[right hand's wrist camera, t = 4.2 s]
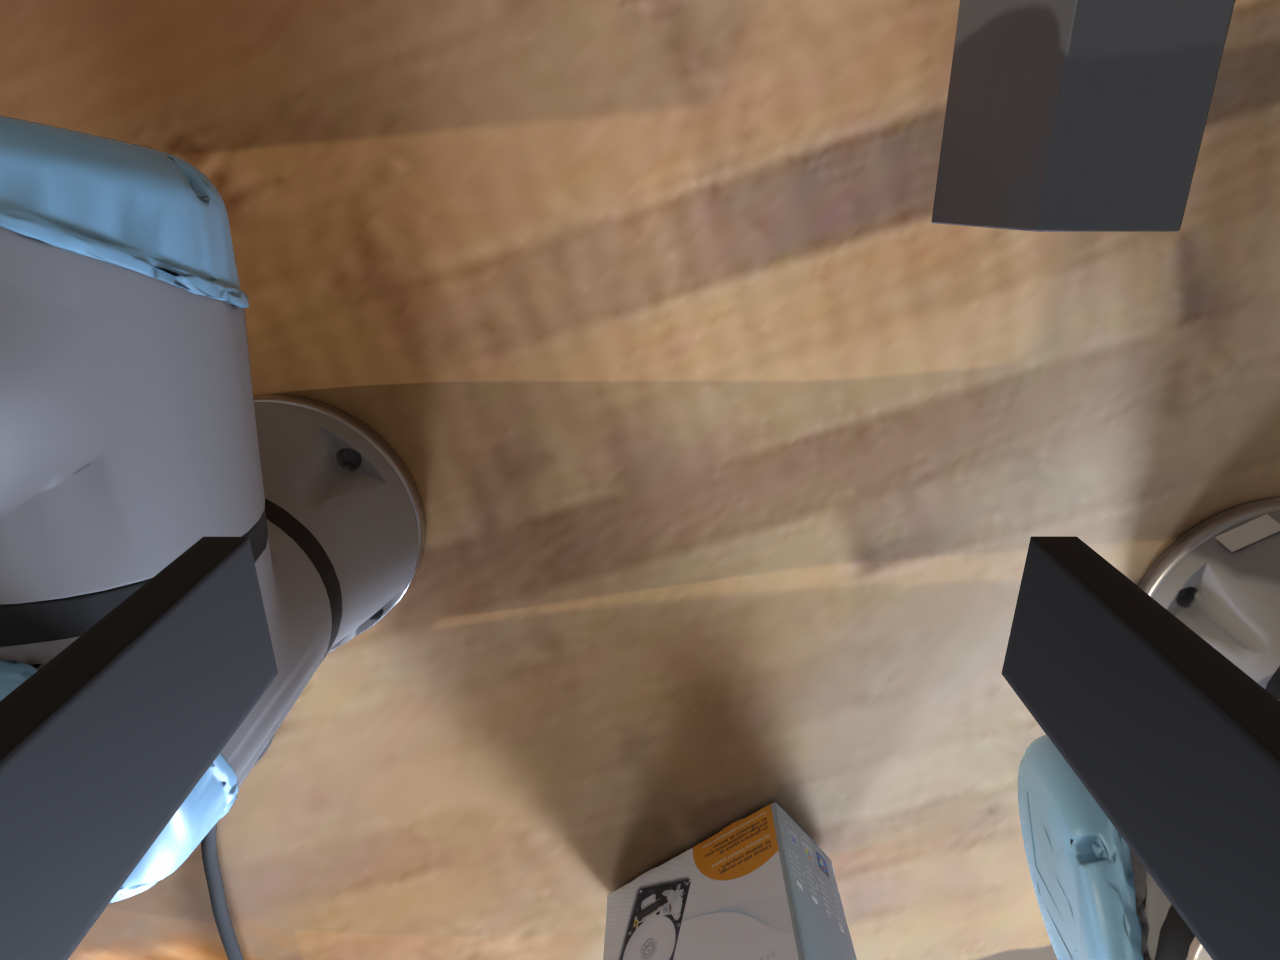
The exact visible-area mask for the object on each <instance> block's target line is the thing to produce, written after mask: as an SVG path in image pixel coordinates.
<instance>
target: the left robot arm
mask: <svg viewBox="0 0 1280 960" xmlns="http://www.w3.org/2000/svg"><path fill="white" fill-rule="evenodd" d="M1138 587H1139V588H1141V589H1142V590H1143V591H1144V592H1146V593H1147V594H1148V595H1149V596H1150V597H1152V598H1153V599H1154V600H1155V601H1157V602H1158V603H1159V604H1160V605H1162V606H1163V607H1164V608H1165V609H1167V610H1168V611H1169V612H1170V613H1171V614H1173V615H1174V616H1175V617H1176V618H1178V619H1179V620H1180V621H1181V622H1183V623H1184V624H1185V625H1186V626H1188V627H1189V628H1190V629H1191V630H1192V631H1194V632H1195V633H1196V634H1197V635H1199V636H1200V637H1201V638H1202V639H1204V640H1205V641H1206V642H1207V643H1209V644H1210V645H1211V646H1212V647H1213V648H1215V649H1216V650H1217V651H1218V652H1220V653H1221V654H1222V655H1223V656H1225V657H1226V658H1227V659H1228V660H1230V661H1231V662H1232V663H1233V664H1234V665H1236V666H1237V667H1238V668H1239V669H1241V670H1242V671H1243V672H1244V673H1246V674H1247V675H1248V676H1249V677H1251V678H1252V679H1253V680H1254V681H1255V682H1257V683H1258V684H1259V685H1260V686H1262V687H1263V688H1264V689H1265V690H1267V691H1268V692H1269V693H1270V694H1272V695H1273V696H1274V697H1275V698H1276V699H1278V700H1280V498H1271V499H1264V500H1258V501H1254V502H1250V503H1246V504H1243V505H1240V506H1236V507H1233V508H1231V509H1228V510H1226V511H1223V512H1221V513H1219V514H1217V515H1215V516H1213V517H1211V518H1209V519H1207V520H1205V521H1203V522H1202V523H1200V524H1198V525H1196V526H1195V527H1193V528H1192V529H1190V530H1189V531H1188V532H1186V533H1185V534H1183V535H1182V536H1181V537H1180V538H1178V539H1177V540H1176V541H1175V542H1173V543H1172V544H1171V545H1170V546H1169V547H1168V548H1167V549H1166V550H1165V551H1164V552H1163V553H1162V554H1161V555H1160V556H1159V557H1158V558H1157V559H1156V560H1155V562H1154V563H1153V564H1152V565H1151V567H1150V568H1149V569H1148V570H1147V572H1146V573H1145V575H1144V576H1143V578H1142V580H1141V581H1140V583H1139V585H1138ZM1018 804H1019V814H1020V822H1021V829H1022V835H1023V841H1024V846H1025V851H1026V856H1027V861H1028V865H1029V869H1030V874H1031V878H1032V882H1033V885H1034V889H1035V893H1036V897H1037V900H1038V904H1039V907H1040V910H1041V914H1042V917H1043V920H1044V923H1045V926H1046V929H1047V932H1048V935H1049V938H1050V941H1051V943H1052V946H1053V949H1054V952H1055V954H1056V956H1057V959H1058V960H1212V958H1211V957H1210V956H1209V954H1208V953H1207V951H1206V950H1205V949H1204V947H1203V946H1202V945H1201V943H1200V942H1199V941H1198V939H1197V938H1196V937H1195V935H1194V934H1193V932H1192V931H1191V930H1190V928H1189V927H1188V926H1187V924H1186V923H1185V922H1184V920H1183V919H1182V918H1181V916H1180V915H1179V913H1178V912H1177V911H1176V909H1175V908H1174V907H1173V905H1172V904H1171V903H1170V901H1169V900H1168V899H1167V897H1166V896H1165V895H1164V893H1163V892H1162V890H1161V889H1160V888H1159V886H1158V885H1157V884H1156V882H1155V881H1154V880H1153V878H1152V877H1151V876H1150V874H1149V873H1148V871H1147V870H1146V869H1145V867H1144V866H1143V865H1142V863H1141V862H1140V861H1139V859H1138V858H1137V857H1136V855H1135V854H1134V852H1133V851H1132V850H1131V848H1130V847H1129V846H1128V844H1127V843H1126V842H1125V840H1124V839H1123V838H1122V836H1121V835H1120V833H1119V832H1118V831H1117V829H1116V828H1115V827H1114V825H1113V824H1112V823H1111V821H1110V820H1109V819H1108V817H1107V816H1106V814H1105V813H1104V812H1103V810H1102V809H1101V808H1100V806H1099V805H1098V804H1097V802H1096V801H1095V800H1094V798H1093V797H1092V796H1091V794H1090V793H1089V791H1088V790H1087V789H1086V787H1085V786H1084V785H1083V783H1082V782H1081V781H1080V779H1079V778H1078V777H1077V775H1076V774H1075V772H1074V771H1073V770H1072V768H1071V767H1070V766H1069V764H1068V763H1067V762H1066V760H1065V759H1064V758H1063V756H1062V755H1061V753H1060V752H1059V751H1058V749H1057V748H1056V747H1055V745H1054V744H1053V743H1052V741H1051V740H1050V739H1049V737H1048V736H1047V735H1044V736H1041V737H1039V738H1037V739H1036V740H1034V741H1033V742H1032V743H1031V744H1030V745H1029V747H1028V748H1027V749H1026V752H1025V755H1024V756H1023V759H1022V760H1021V763H1020V767H1019V774H1018Z"/></svg>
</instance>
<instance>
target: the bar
mask: <svg viewBox="0 0 1280 960" xmlns="http://www.w3.org/2000/svg"><path fill="white" fill-rule="evenodd" d="M1234 3H1235V0H960V7H959V15H958V22H957V30H956V38H955V46H954V53H953V61H952V69H951V76H950V84H949V92H948V100H947V107H946V115H945V123H944V131H943V138H942V146H941V154H940V161H939V169H938V177H937V185H936V192H935V200H934V208H933V215H932V223H938V224H951V225H963V226H976V227H988V228H1001V229H1013V230H1026V231H1179V230H1180V228H1181V223H1182V219H1183V215H1184V211H1185V207H1186V203H1187V199H1188V194H1189V190H1190V186H1191V182H1192V178H1193V174H1194V169H1195V165H1196V161H1197V157H1198V153H1199V149H1200V145H1201V140H1202V136H1203V132H1204V128H1205V124H1206V120H1207V115H1208V111H1209V107H1210V103H1211V99H1212V95H1213V91H1214V86H1215V82H1216V78H1217V74H1218V70H1219V66H1220V61H1221V57H1222V53H1223V49H1224V45H1225V41H1226V37H1227V32H1228V28H1229V24H1230V20H1231V16H1232V12H1233V7H1234Z"/></svg>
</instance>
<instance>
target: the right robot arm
mask: <svg viewBox="0 0 1280 960" xmlns="http://www.w3.org/2000/svg"><path fill="white" fill-rule="evenodd" d="M244 308H249V304H248V298H247V295H246V294H245V293H244V292H243V291H242V290H241V288H240V282H239V277H238V272H237V267H236V262H235V257H234V251H233V245H232V239H231V232H230V226H229V220H228V215H227V211H226V207H225V204H224V202H223V200H222V197H221V196H220V194H219V192H218V191H217V189H216V187H215V186H214V185H213V184H212V183H211V181H210V180H209V179H208V178H207V177H206V176H205V175H204V174H203V173H202V172H200V171H199V170H198V169H197V168H195V167H194V166H193V165H191V164H190V163H188V162H186V161H184V160H182V159H180V158H178V157H176V156H173V155H171V154H168V153H165V152H161V151H158V150H154V149H150V148H146V147H142V146H139V145H134V144H130V143H126V142H121V141H117V140H113V139H109V138H104V137H100V136H95V135H90V134H86V133H81V132H77V131H72V130H67V129H63V128H58V127H53V126H48V125H44V124H39V123H34V122H29V121H24V120H19V119H15V118H10V117H5V116H0V960H68V958H69V957H70V956H71V954H72V953H73V951H74V950H75V949H76V947H77V946H78V945H79V943H80V942H81V941H82V939H83V938H84V937H85V935H86V934H87V932H88V931H89V930H90V928H91V927H92V926H93V924H94V923H95V922H96V920H97V919H98V918H99V916H100V915H101V913H102V912H103V911H104V909H105V908H106V907H107V905H108V904H109V903H112V902H116V901H120V900H123V899H126V898H128V897H131V896H134V895H136V894H138V893H141V892H143V891H145V890H147V889H149V888H150V887H152V886H153V885H155V884H156V883H157V882H158V881H159V880H162V879H164V878H165V877H166V876H168V875H170V874H171V873H173V872H174V871H175V870H176V869H177V868H178V867H179V866H180V865H181V864H182V863H183V862H184V861H185V860H186V859H187V858H188V857H189V855H190V854H191V853H192V852H193V851H194V849H195V848H196V847H197V846H198V845H199V843H200V842H201V848H202V858H203V864H204V870H205V875H206V880H207V884H208V889H209V894H210V900H211V905H212V909H213V914H214V917H215V921H216V925H217V928H218V931H219V934H220V937H221V940H222V943H223V946H224V949H225V952H226V955H227V958H228V960H243V957H242V954H241V951H240V947H239V944H238V941H237V939H236V936H235V932H234V929H233V926H232V923H231V920H230V916H229V912H228V908H227V904H226V900H225V894H224V889H223V883H222V878H221V873H220V868H219V863H218V857H217V849H216V827H217V822H218V820H219V819H221V818H222V817H223V816H224V815H225V814H226V813H227V812H228V811H229V810H230V808H231V807H232V805H233V803H234V801H235V800H236V799H237V796H236V794H237V793H238V792H239V787H240V786H241V784H242V783H243V781H244V780H245V778H246V777H247V775H248V773H249V772H250V770H251V769H252V767H253V766H254V765H255V764H256V763H257V762H258V761H259V760H260V758H261V757H262V756H263V754H264V753H265V752H266V750H267V749H268V747H269V745H270V744H271V741H272V739H273V737H274V734H275V732H276V731H277V729H278V728H279V726H280V725H281V723H282V722H283V720H284V718H285V717H286V715H287V714H288V712H289V711H290V709H291V708H292V706H293V705H294V703H295V702H296V700H297V699H298V697H299V696H300V694H301V692H302V691H303V689H304V688H305V686H306V685H307V683H308V682H309V680H310V679H311V677H312V676H313V674H314V673H315V671H316V670H317V668H318V667H319V665H320V664H321V662H322V661H323V659H324V658H325V656H326V655H327V653H329V652H331V651H332V650H334V649H336V648H338V647H339V646H341V645H343V644H344V643H346V642H348V641H349V640H351V639H352V638H353V637H355V636H357V635H359V634H361V633H362V632H364V631H366V630H367V629H369V628H370V627H372V626H373V625H375V624H376V623H377V622H379V621H380V620H381V619H382V618H383V617H384V616H385V615H386V614H387V613H388V612H389V611H390V610H391V609H392V608H393V607H394V606H395V605H396V604H397V603H398V602H399V600H400V599H401V598H402V596H403V595H404V593H405V592H406V590H407V589H408V587H409V585H410V583H411V582H412V580H413V578H414V576H415V574H416V572H417V570H418V568H419V565H420V563H421V559H422V555H423V551H424V545H425V531H426V530H425V517H424V512H423V507H422V503H421V499H420V496H419V493H418V491H417V488H416V486H415V483H414V482H413V480H412V478H411V476H410V474H409V472H408V470H407V469H406V467H405V466H404V464H403V462H402V461H401V460H400V459H399V457H398V456H397V455H396V453H395V452H394V451H393V450H392V449H391V448H390V447H389V445H388V444H387V443H386V442H385V441H384V440H383V439H381V438H380V437H379V436H378V435H377V434H376V433H375V432H374V431H372V430H371V429H370V428H368V427H367V426H366V425H365V424H363V423H361V422H360V421H358V420H357V419H355V418H354V417H352V416H350V415H348V414H346V413H344V412H343V411H341V410H338V409H336V408H334V407H331V406H329V405H327V404H324V403H321V402H317V401H314V400H310V399H306V398H302V397H295V396H288V395H258V396H253V390H252V380H251V370H250V360H249V351H248V341H247V331H246V321H245V311H244ZM1002 675H1003V676H1004V678H1005V679H1006V680H1007V682H1008V683H1009V684H1010V686H1011V687H1012V688H1013V690H1014V691H1015V692H1016V694H1017V695H1018V697H1019V698H1020V699H1021V701H1022V702H1023V703H1024V705H1025V706H1026V707H1027V709H1028V710H1029V711H1030V713H1031V714H1032V715H1033V717H1034V718H1035V720H1036V721H1037V722H1038V724H1039V725H1040V726H1041V728H1042V729H1043V730H1044V732H1045V733H1046V734H1047V736H1048V737H1049V739H1050V740H1051V741H1052V743H1053V744H1054V745H1055V747H1056V748H1057V749H1058V751H1059V752H1060V753H1061V755H1062V756H1063V758H1064V759H1065V760H1066V762H1067V763H1068V764H1069V766H1070V767H1071V768H1072V770H1073V771H1074V772H1075V774H1076V775H1077V777H1078V778H1079V779H1080V781H1081V782H1082V783H1083V785H1084V786H1085V787H1086V789H1087V790H1088V791H1089V793H1090V794H1091V796H1092V797H1093V798H1094V800H1095V801H1096V802H1097V804H1098V805H1099V806H1100V808H1101V809H1102V810H1103V812H1104V813H1105V814H1106V816H1107V817H1108V819H1109V820H1110V821H1111V823H1112V824H1113V825H1114V827H1115V828H1116V829H1117V831H1118V832H1119V833H1120V835H1121V836H1122V838H1123V839H1124V840H1125V842H1126V843H1127V844H1128V846H1129V847H1130V848H1131V850H1132V851H1133V852H1134V854H1135V855H1136V857H1137V858H1138V859H1139V861H1140V862H1141V863H1142V865H1143V866H1144V867H1145V869H1146V870H1147V871H1148V873H1149V874H1150V876H1151V877H1152V878H1153V880H1154V881H1155V882H1156V884H1157V885H1158V886H1159V888H1160V889H1161V890H1162V892H1163V893H1164V895H1165V896H1166V897H1167V899H1168V900H1169V901H1170V903H1171V904H1172V905H1173V907H1174V908H1175V909H1176V911H1177V912H1178V913H1179V915H1180V916H1181V918H1182V919H1183V920H1184V922H1185V923H1186V924H1187V926H1188V927H1189V928H1190V930H1191V931H1192V932H1193V934H1194V935H1195V937H1196V938H1197V939H1198V941H1199V942H1200V943H1201V945H1202V946H1203V947H1204V949H1205V950H1206V951H1207V953H1208V954H1209V956H1210V957H1211V958H1212V960H1280V700H1278V699H1276V698H1275V697H1274V696H1273V695H1272V694H1270V693H1269V692H1268V691H1267V690H1265V689H1264V688H1263V687H1262V686H1260V685H1259V684H1258V683H1257V682H1255V681H1254V680H1253V679H1252V678H1251V677H1249V676H1248V675H1247V674H1246V673H1244V672H1243V671H1242V670H1241V669H1239V668H1238V667H1237V666H1236V665H1234V664H1233V663H1232V662H1231V661H1230V660H1228V659H1227V658H1226V657H1225V656H1223V655H1222V654H1221V653H1220V652H1218V651H1217V650H1216V649H1215V648H1213V647H1212V646H1211V645H1210V644H1209V643H1207V642H1206V641H1205V640H1204V639H1202V638H1201V637H1200V636H1199V635H1197V634H1196V633H1195V632H1194V631H1192V630H1191V629H1190V628H1189V627H1188V626H1186V625H1185V624H1184V623H1183V622H1181V621H1180V620H1179V619H1178V618H1176V617H1175V616H1174V615H1173V614H1171V613H1170V612H1169V611H1168V610H1167V609H1165V608H1164V607H1163V606H1162V605H1160V604H1159V603H1158V602H1157V601H1155V600H1154V599H1153V598H1152V597H1150V596H1149V595H1148V594H1147V593H1146V592H1144V591H1143V590H1142V589H1141V588H1139V587H1138V586H1137V585H1136V584H1134V583H1133V582H1132V581H1131V580H1129V579H1128V578H1127V577H1126V576H1125V575H1123V574H1122V573H1121V572H1120V571H1118V570H1117V569H1116V568H1115V567H1113V566H1112V565H1111V564H1110V563H1108V562H1107V561H1106V560H1105V559H1104V558H1102V557H1101V556H1100V555H1099V554H1097V553H1096V552H1095V551H1094V550H1092V549H1091V548H1090V547H1089V546H1088V545H1086V544H1085V543H1084V542H1083V541H1081V540H1080V539H1079V538H1078V537H1031V539H1030V544H1029V549H1028V553H1027V558H1026V563H1025V567H1024V572H1023V577H1022V581H1021V586H1020V591H1019V595H1018V600H1017V605H1016V609H1015V614H1014V619H1013V623H1012V628H1011V633H1010V637H1009V642H1008V647H1007V651H1006V656H1005V661H1004V665H1003V670H1002Z"/></svg>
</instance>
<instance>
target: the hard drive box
mask: <svg viewBox="0 0 1280 960" xmlns="http://www.w3.org/2000/svg"><path fill="white" fill-rule="evenodd" d="M603 960H857V959H856V955H855V952H854V948H853V944H852V940H851V936H850V933H849V929H848V926H847V922H846V918H845V915H844V910H843V906H842V903H841V898H840V894H839V891H838V887H837V883H836V879H835V875H834V870H833V867H832V862H831V860H830V859H829V858H828V856H827V855H826V854H825V853H824V852H823V851H822V850H821V849H820V848H819V847H818V846H817V845H816V843H815V842H814V841H813V840H812V839H811V838H810V837H809V836H808V835H807V834H806V833H805V832H804V831H803V830H802V829H801V828H800V827H799V826H798V825H797V824H796V823H795V821H794V820H793V819H792V818H791V817H790V816H789V815H788V814H787V813H786V812H785V811H784V810H783V809H782V808H781V807H780V806H779V805H778V804H777V803H776V802H773V803H771V804H769V805H768V806H766V807H764V808H762V809H760V810H759V811H757V812H755V813H753V814H751V815H750V816H748V817H746V818H743V819H740V820H737V821H735V822H734V823H732V824H730V825H729V826H727V827H725V828H724V829H723V830H721V831H720V832H719V833H717V834H715V835H714V836H712V837H710V838H709V839H707V840H705V841H703V842H701V843H699V844H698V845H696V846H694V847H692V848H691V849H689V850H687V851H685V852H684V853H682V854H680V855H678V856H676V857H675V858H673V859H671V860H669V861H667V862H666V863H664V864H662V865H660V866H658V867H655V868H652V869H651V870H649V871H647V872H645V873H643V874H642V875H640V876H639V877H637V878H636V879H635V880H633V881H632V882H630V883H628V884H626V885H624V886H623V887H621V888H619V889H618V890H616V891H614V892H612V893H611V894H609V895H608V896H607V911H606V927H605V943H604V959H603Z"/></svg>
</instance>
